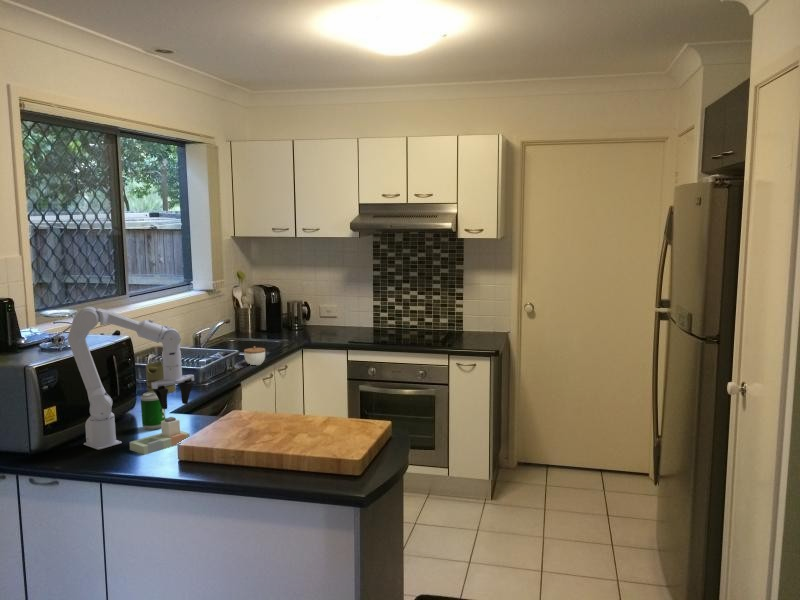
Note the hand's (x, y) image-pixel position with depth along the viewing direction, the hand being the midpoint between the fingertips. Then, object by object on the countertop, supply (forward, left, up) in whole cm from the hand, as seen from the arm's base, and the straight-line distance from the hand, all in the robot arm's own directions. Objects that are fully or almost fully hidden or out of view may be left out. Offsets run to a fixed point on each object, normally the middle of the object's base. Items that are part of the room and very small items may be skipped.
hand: (174, 406), depth 220 cm
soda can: (-15, +1, -10) cm, 18 cm away
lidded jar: (-74, +94, -10) cm, 120 cm away
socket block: (+5, -9, -10) cm, 14 cm away
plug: (+5, -5, -10) cm, 12 cm away
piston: (-62, +33, -10) cm, 71 cm away
